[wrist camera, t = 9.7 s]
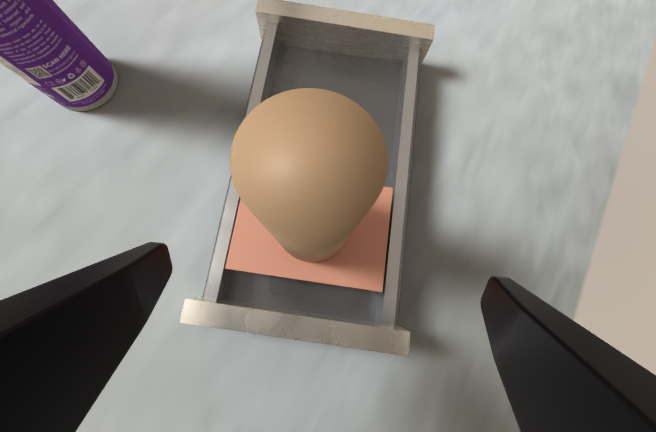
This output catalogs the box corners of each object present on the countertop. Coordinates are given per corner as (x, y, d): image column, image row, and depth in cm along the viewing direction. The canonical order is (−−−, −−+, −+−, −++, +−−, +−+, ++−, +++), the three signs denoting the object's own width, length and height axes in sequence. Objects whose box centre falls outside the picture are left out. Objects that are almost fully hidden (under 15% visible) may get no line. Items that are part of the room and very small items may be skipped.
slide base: (391, 343, 19) (408, 356, 16) (203, 315, 19) (179, 322, 15) (417, 62, 24) (434, 24, 20) (267, 38, 24) (259, -4, 20)
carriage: (374, 290, 18) (472, 304, 7) (235, 270, 18) (104, 249, 7) (384, 198, 20) (480, 81, 8) (255, 178, 20) (171, 32, 8)
